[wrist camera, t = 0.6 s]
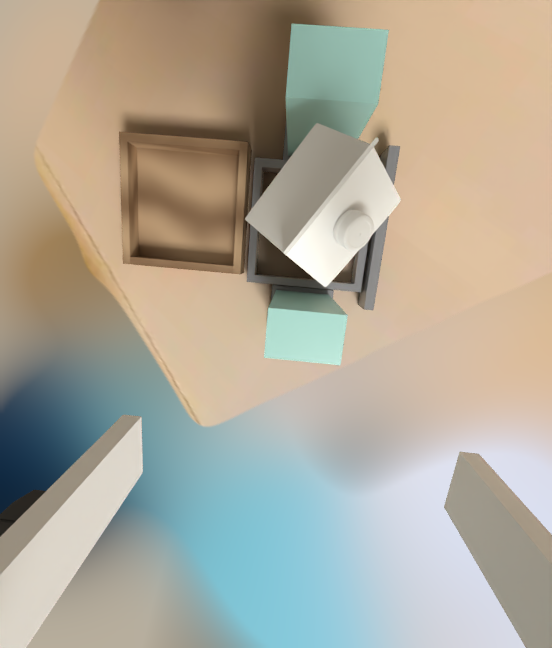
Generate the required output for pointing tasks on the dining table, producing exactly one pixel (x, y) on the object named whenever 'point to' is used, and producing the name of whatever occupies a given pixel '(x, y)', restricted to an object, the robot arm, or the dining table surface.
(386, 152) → the holder
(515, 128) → the dining table surface
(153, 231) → the tray
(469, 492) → the robot arm
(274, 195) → the milk carton
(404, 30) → the dining table surface
